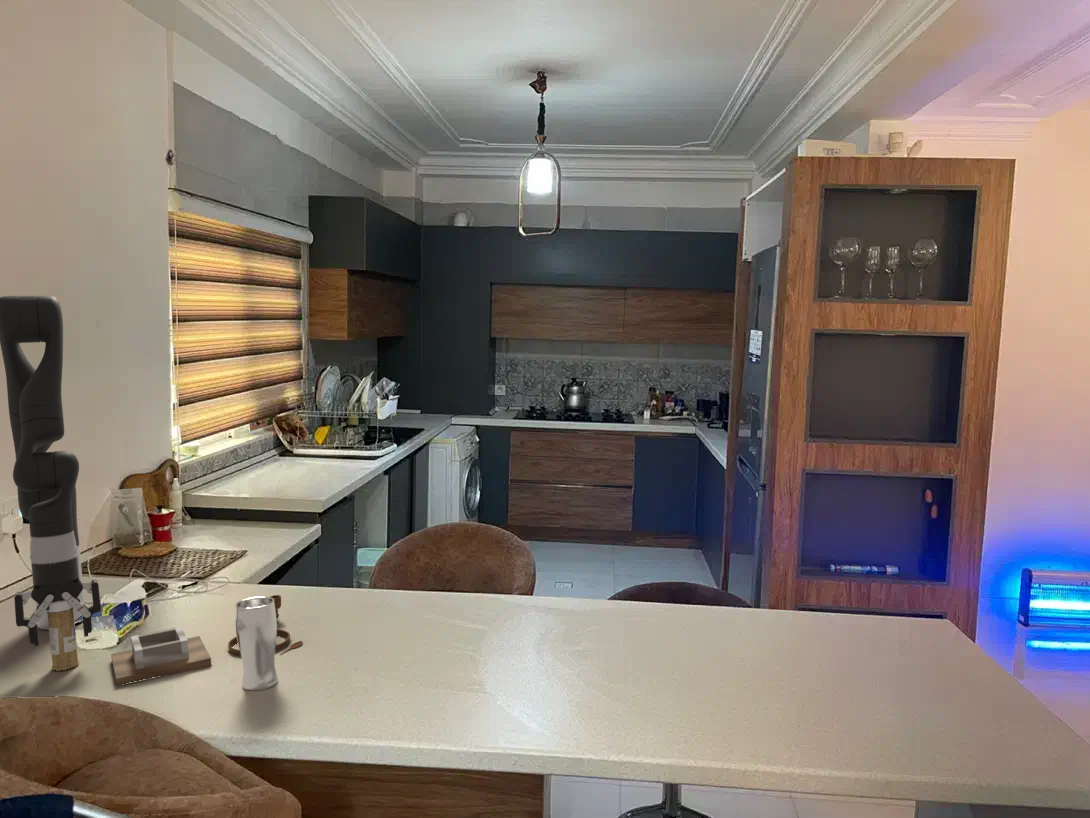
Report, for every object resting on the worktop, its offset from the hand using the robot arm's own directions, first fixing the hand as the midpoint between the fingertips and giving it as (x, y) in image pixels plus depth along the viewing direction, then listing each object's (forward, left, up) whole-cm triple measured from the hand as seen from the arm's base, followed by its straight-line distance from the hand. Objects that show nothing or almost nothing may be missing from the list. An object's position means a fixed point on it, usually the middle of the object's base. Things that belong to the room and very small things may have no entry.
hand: (61, 640), depth 156 cm
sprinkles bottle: (0, 0, -6) cm, 6 cm away
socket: (+9, +16, -5) cm, 19 cm away
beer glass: (+30, +30, -6) cm, 43 cm away
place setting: (+8, +37, -6) cm, 39 cm away
